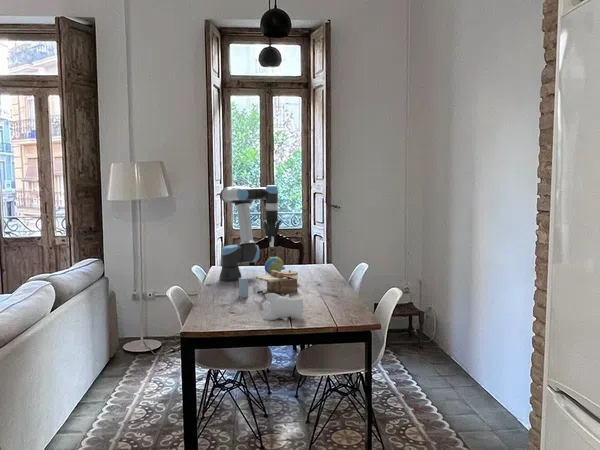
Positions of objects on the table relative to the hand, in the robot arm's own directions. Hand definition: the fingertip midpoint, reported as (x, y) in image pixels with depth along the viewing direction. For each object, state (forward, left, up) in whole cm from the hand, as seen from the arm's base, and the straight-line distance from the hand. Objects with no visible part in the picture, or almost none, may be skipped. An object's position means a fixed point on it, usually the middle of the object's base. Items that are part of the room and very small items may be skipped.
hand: (271, 246), depth 341 cm
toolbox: (+13, -1, -26) cm, 29 cm away
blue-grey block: (+13, -28, -26) cm, 40 cm away
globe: (-34, +24, -26) cm, 50 cm away
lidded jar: (-1, +14, -26) cm, 30 cm away
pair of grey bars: (+13, -15, -26) cm, 32 cm away
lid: (+13, -8, -18) cm, 24 cm away
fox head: (+66, -34, -26) cm, 79 cm away
